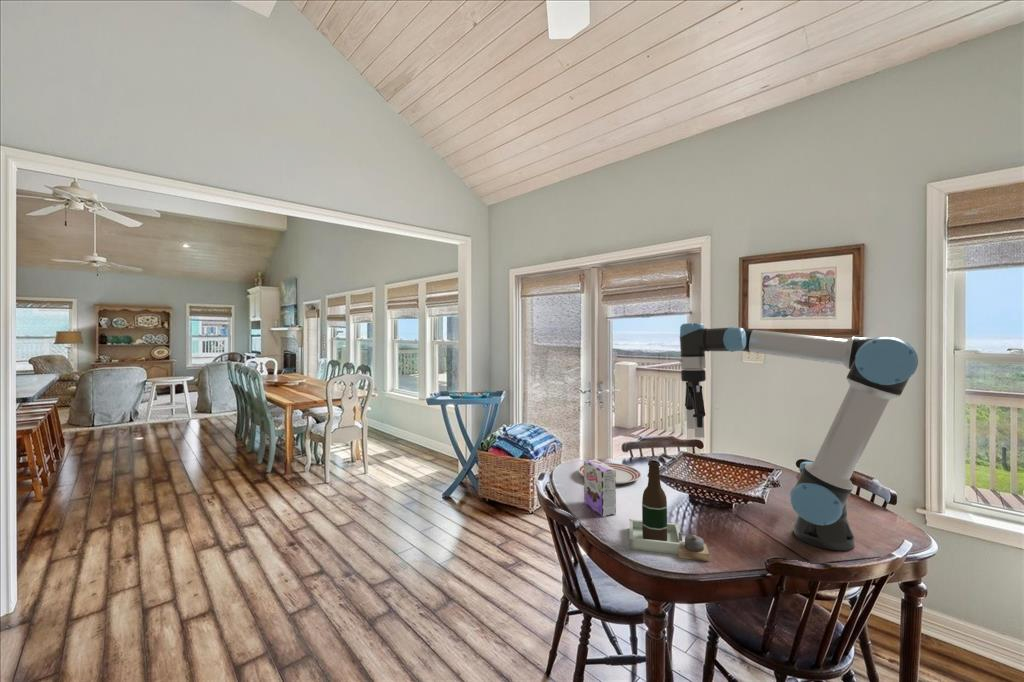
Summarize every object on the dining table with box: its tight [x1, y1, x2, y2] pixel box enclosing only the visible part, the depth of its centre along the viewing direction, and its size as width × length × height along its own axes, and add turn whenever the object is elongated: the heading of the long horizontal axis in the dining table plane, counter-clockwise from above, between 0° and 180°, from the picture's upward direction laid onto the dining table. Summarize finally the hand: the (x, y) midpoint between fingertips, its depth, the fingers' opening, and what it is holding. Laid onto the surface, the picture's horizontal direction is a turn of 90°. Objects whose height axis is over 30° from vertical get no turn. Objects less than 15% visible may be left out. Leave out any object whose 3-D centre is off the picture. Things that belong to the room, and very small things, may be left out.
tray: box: [628, 518, 684, 555], centre depth 132 cm, size 15×14×3 cm
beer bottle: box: [641, 459, 668, 541], centre depth 132 cm, size 8×8×24 cm
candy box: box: [583, 458, 617, 518], centre depth 157 cm, size 14×6×16 cm, turn 18°
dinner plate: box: [577, 461, 642, 486], centre depth 191 cm, size 28×27×3 cm
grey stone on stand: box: [677, 531, 710, 562], centre depth 124 cm, size 8×6×5 cm
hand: (695, 432), depth 143 cm, fingers open, 13 cm apart
